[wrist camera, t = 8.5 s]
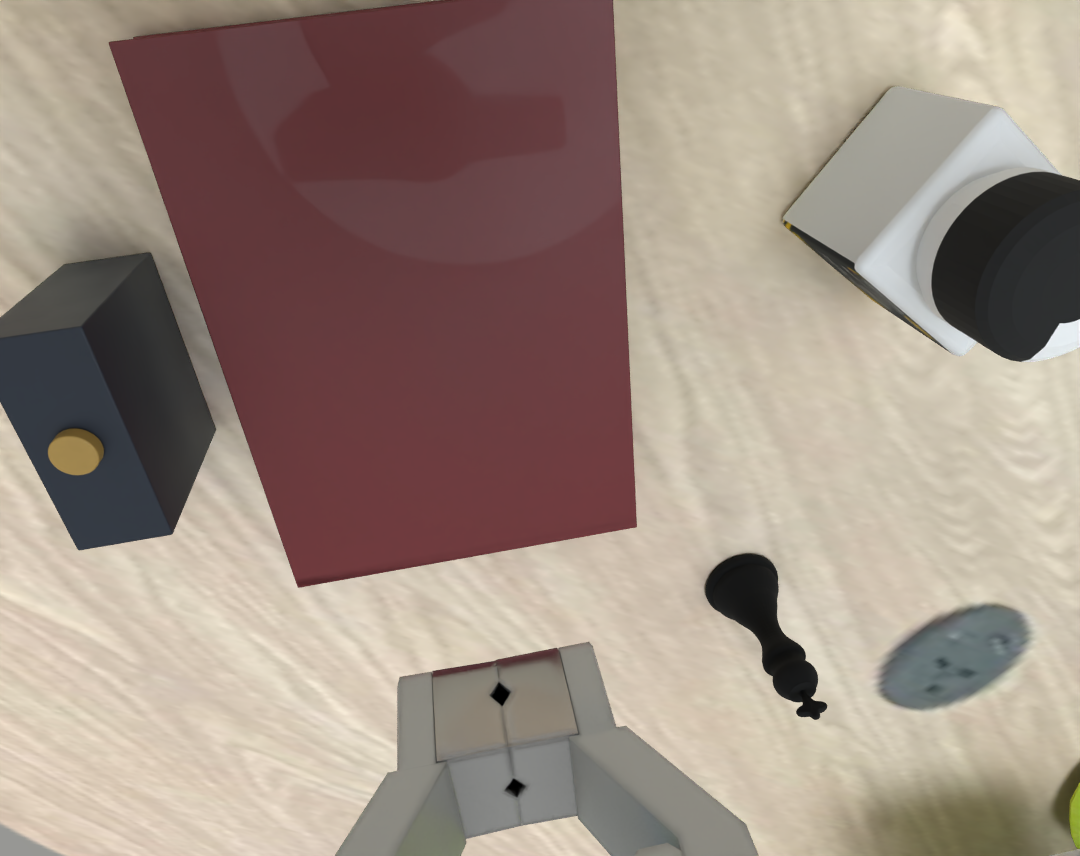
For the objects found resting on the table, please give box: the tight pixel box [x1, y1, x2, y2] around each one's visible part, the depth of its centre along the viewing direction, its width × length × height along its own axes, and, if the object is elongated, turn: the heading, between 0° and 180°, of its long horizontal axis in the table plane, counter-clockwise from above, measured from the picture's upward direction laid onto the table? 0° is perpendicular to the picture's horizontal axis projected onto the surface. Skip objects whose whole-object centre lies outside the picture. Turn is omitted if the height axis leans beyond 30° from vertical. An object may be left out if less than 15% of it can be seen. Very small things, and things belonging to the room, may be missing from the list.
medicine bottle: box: [783, 86, 1080, 362], centre depth 30 cm, size 7×7×12 cm
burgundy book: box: [109, 0, 637, 588], centre depth 33 cm, size 24×17×3 cm
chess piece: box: [706, 554, 827, 720], centre depth 42 cm, size 4×4×10 cm
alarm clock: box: [0, 253, 216, 550], centre depth 30 cm, size 9×7×8 cm
